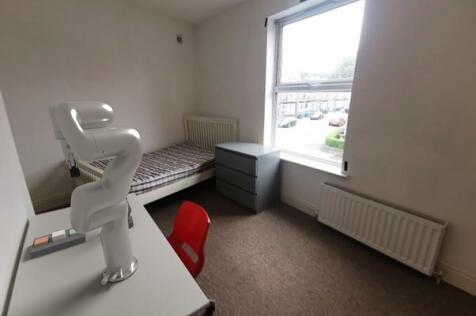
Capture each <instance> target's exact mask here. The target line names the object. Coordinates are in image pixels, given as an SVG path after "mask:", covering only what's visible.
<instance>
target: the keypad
mask: <svg viewBox="0 0 476 316" xmlns="http://www.w3.org/2000/svg"><path fill="white" fill-rule="evenodd" d="M71 229H73V228H72V227H70V228H68V229H65V233H66V238H65V239H62V240H58V241H55V242H53V239H52V234H53V233H51V234H50V233H49V234H46V235H43V236H39V237H36V238H34V239H33V242H32V246H31V247H30V248H31V249H30V252H29V254H30V257H31V259H32V260H34V259H36V258H39V257H42V256H45V255H46V256H47V255H49V254H51V253H55V252H58V251H61V250H64V249H68V248H71V247H73V246H76V245H77V246H78V245H81V244H84V243H86V241H87V239H86V233H84V234H79V235H75V236H72V237H70V230H71ZM47 236H48V237H49V243H48V244H45V245H42V246H38V247H35V246H34V243H35V240H36V239H39V238H43V237H47Z"/></svg>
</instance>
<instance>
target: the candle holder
mask: <svg viewBox="0 0 476 316" xmlns="http://www.w3.org/2000/svg"><path fill="white" fill-rule="evenodd" d="M126 200H127V202H128V227H129V230H130V229H132V228H133V227H134V226H135V225H134V224H135V223H134V219H133V216H131V213H132V208H131V205H130V202H129V201H128V197H127V198H126Z"/></svg>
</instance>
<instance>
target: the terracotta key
mask: <svg viewBox="0 0 476 316" xmlns="http://www.w3.org/2000/svg"><path fill="white" fill-rule="evenodd" d="M38 238H39V237H38ZM48 243H49V237H48V236H47V237H43V238H39V239H36V240H35V243H34V246H35V247H38V246H42V245H45V244H48Z"/></svg>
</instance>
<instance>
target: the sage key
mask: <svg viewBox="0 0 476 316" xmlns="http://www.w3.org/2000/svg"><path fill="white" fill-rule="evenodd" d="M70 229H71V228H70ZM79 234H80V233H77V232H76V231H75V230H74V229H71V230H70V237H72V236H75V235H79Z"/></svg>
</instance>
